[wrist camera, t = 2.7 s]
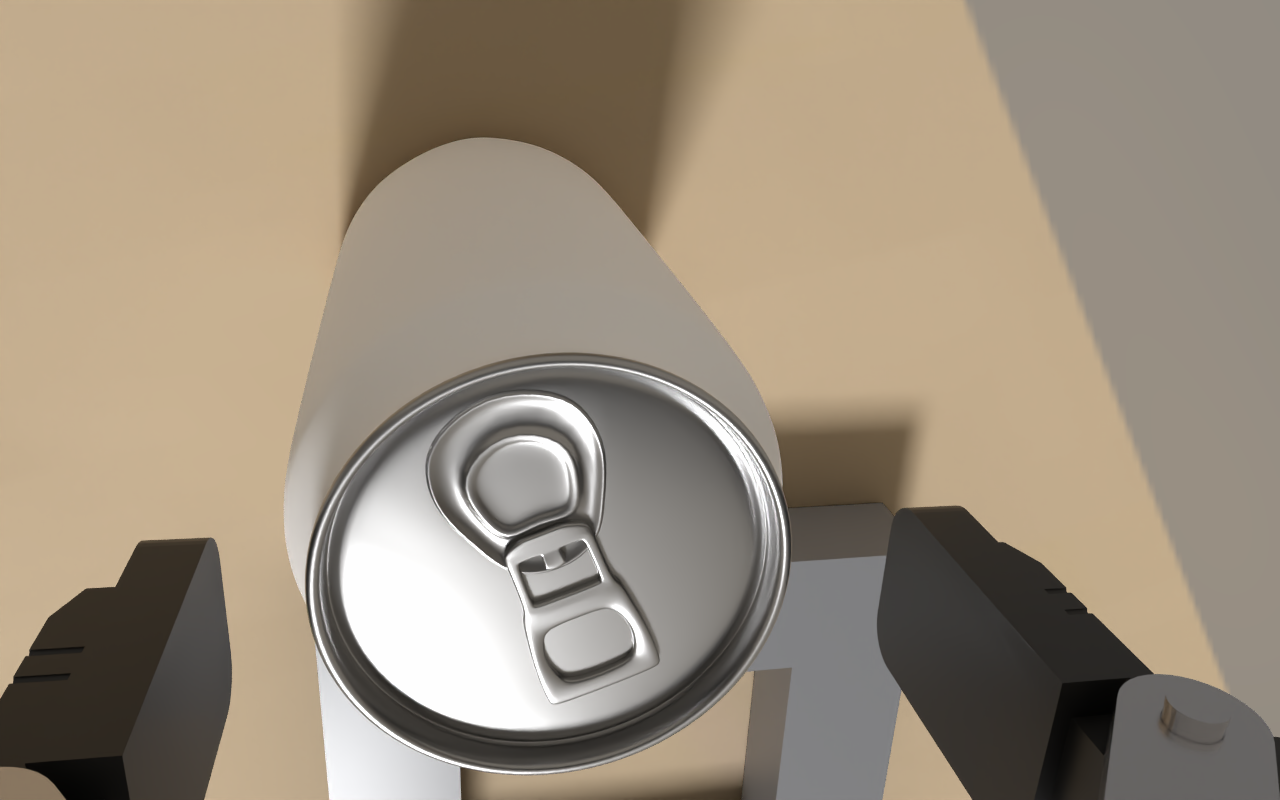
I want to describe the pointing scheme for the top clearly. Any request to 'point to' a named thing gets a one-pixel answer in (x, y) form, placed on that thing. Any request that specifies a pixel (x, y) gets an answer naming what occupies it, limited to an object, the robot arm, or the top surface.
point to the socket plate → (784, 671)
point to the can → (527, 474)
